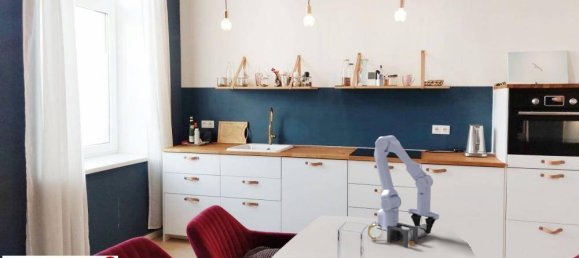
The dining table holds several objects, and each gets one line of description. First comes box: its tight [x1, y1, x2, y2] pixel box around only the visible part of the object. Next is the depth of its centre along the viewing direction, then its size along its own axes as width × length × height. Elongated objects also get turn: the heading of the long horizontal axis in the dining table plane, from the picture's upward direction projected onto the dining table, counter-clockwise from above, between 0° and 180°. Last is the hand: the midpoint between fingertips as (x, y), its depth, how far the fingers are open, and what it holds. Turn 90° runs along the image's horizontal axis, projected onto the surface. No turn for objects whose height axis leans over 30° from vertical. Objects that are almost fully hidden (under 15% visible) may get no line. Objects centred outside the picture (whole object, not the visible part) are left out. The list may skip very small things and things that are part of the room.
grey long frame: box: [400, 223, 429, 242], centre depth 211 cm, size 16×5×5 cm, turn 132°
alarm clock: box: [367, 221, 384, 241], centre depth 208 cm, size 7×3×8 cm, turn 91°
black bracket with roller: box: [386, 222, 419, 248], centre depth 204 cm, size 10×8×7 cm
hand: (423, 231), depth 215 cm, fingers closed on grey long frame, 5 cm apart
